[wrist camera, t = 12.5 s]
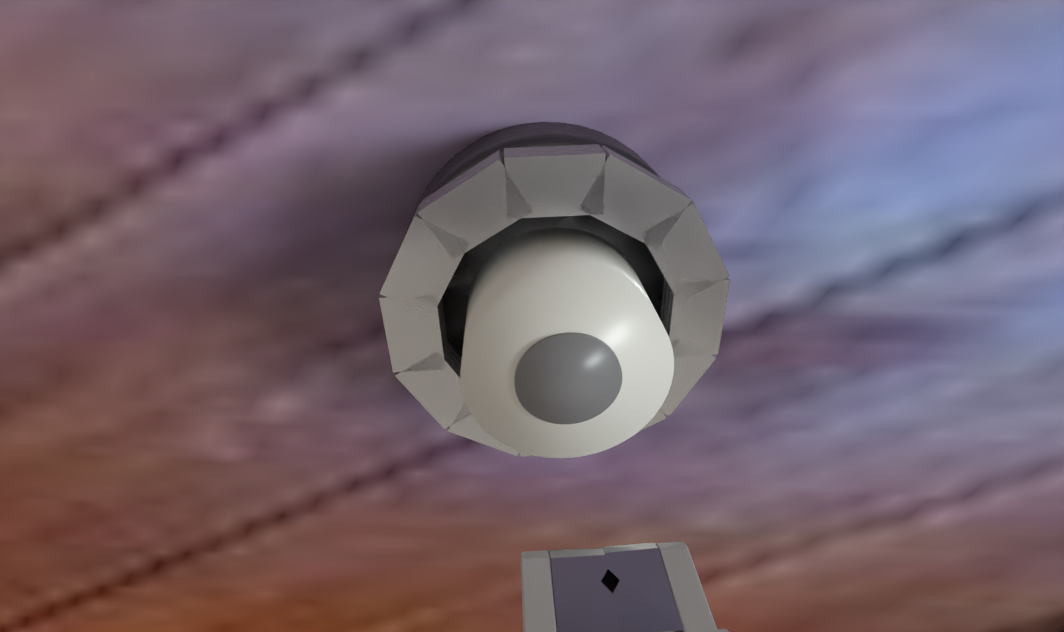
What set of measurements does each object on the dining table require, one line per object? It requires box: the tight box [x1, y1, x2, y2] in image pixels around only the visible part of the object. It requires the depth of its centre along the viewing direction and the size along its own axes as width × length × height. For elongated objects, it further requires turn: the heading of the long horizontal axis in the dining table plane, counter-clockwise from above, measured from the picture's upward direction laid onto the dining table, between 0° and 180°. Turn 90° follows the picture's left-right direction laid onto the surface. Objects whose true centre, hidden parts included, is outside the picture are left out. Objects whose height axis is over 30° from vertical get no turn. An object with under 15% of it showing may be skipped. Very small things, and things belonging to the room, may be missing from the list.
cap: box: [460, 227, 674, 458], centre depth 17 cm, size 6×6×4 cm
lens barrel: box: [379, 122, 730, 457], centre depth 20 cm, size 11×11×5 cm
